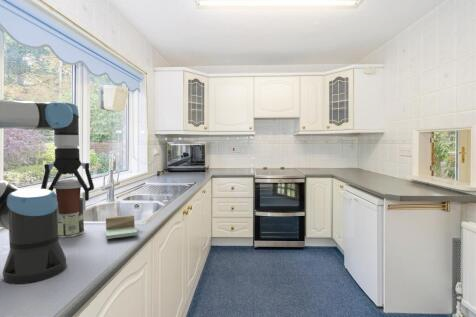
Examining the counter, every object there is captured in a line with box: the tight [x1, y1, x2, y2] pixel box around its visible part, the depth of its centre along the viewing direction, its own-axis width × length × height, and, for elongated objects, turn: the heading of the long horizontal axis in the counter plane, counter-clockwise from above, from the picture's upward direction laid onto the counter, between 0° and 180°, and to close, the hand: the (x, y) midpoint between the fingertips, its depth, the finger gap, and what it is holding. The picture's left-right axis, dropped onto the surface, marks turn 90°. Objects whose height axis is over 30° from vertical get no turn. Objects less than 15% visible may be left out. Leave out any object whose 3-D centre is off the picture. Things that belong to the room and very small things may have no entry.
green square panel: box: [105, 226, 138, 240], centre depth 119 cm, size 1×11×12 cm
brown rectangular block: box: [105, 214, 136, 231], centre depth 126 cm, size 2×11×6 cm, turn 114°
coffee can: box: [58, 197, 85, 239], centre depth 122 cm, size 10×10×14 cm
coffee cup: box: [53, 178, 83, 216], centre depth 106 cm, size 9×9×12 cm
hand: (69, 211), depth 107 cm, fingers closed on coffee cup, 9 cm apart
